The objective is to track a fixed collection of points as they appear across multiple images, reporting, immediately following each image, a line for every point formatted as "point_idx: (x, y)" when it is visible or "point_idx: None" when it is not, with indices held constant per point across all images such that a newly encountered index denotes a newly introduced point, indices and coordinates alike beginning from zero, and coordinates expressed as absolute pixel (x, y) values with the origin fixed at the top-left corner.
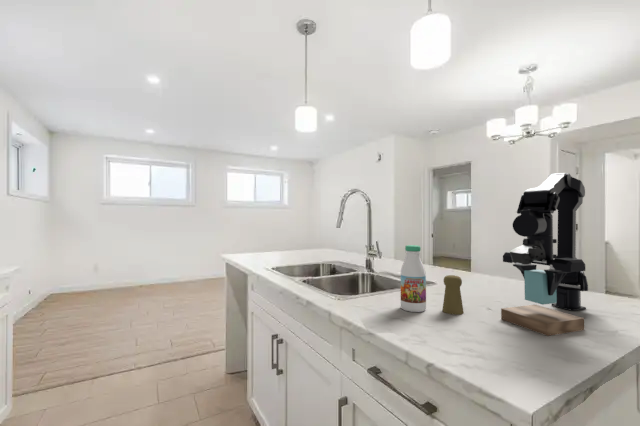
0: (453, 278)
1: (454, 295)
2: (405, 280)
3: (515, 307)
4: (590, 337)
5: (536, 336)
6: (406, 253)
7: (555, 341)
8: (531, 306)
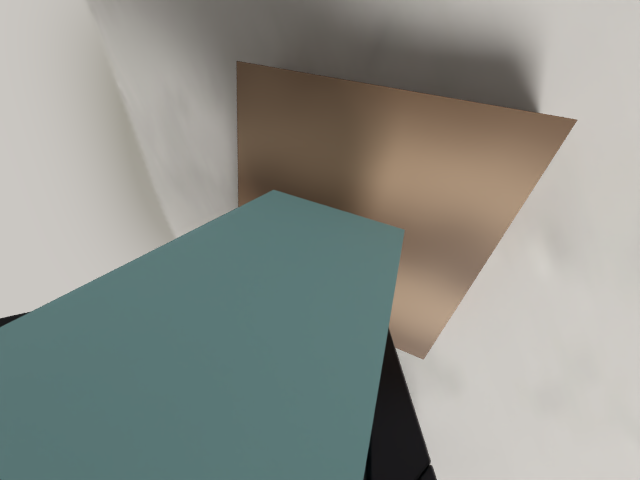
0: None
1: None
2: None
3: (485, 240)
4: (223, 203)
5: (288, 6)
6: None
7: (228, 31)
8: (421, 317)
